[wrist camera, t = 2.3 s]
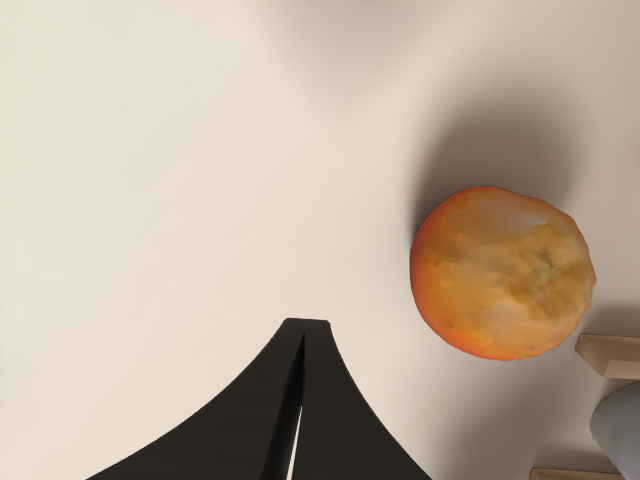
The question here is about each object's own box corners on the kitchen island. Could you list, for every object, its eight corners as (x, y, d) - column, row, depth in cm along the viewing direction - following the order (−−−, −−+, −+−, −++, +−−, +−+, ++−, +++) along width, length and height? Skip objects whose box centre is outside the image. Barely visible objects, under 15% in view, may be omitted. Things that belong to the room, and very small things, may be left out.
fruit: (354, 306, 20) (426, 319, 12) (407, 191, 21) (500, 137, 14) (469, 366, 21) (603, 413, 13) (510, 251, 23) (650, 233, 15)
